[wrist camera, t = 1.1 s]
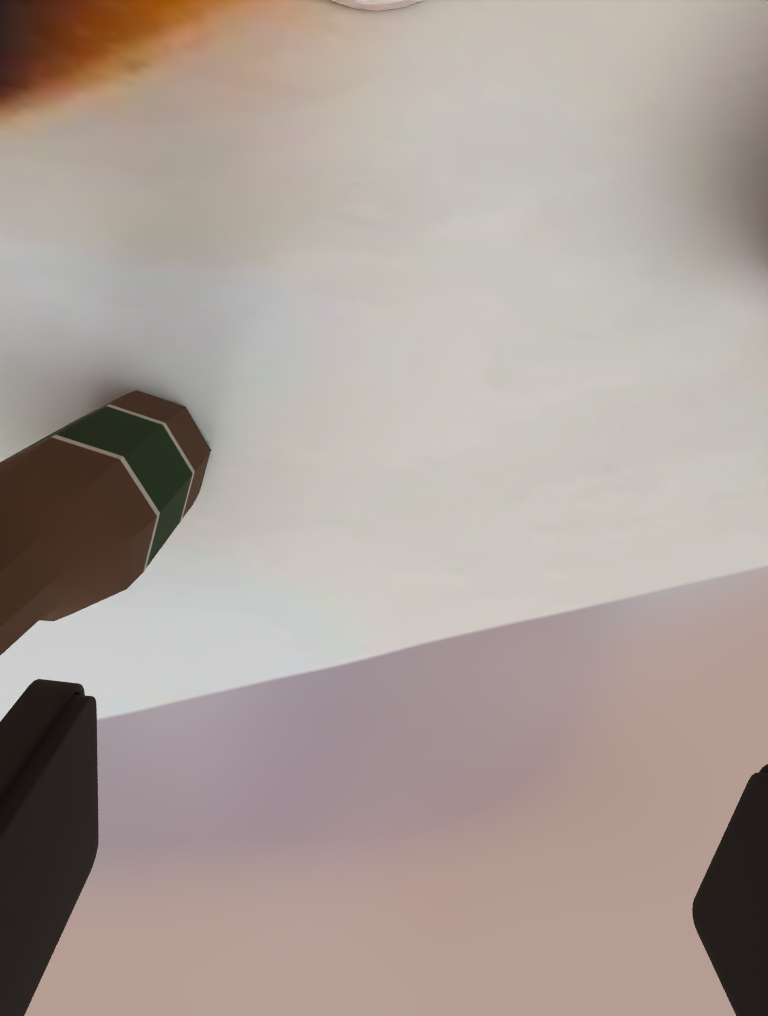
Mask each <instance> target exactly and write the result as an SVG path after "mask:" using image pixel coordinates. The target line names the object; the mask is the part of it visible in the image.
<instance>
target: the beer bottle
mask: <svg viewBox="0 0 768 1016" xmlns="http://www.w3.org/2000/svg"><path fill="white" fill-rule="evenodd" d="M210 451H211V450H210V448H209V446H208V444H207V443H206V441H205V439H204V438H203V436H202V434H201V433H200V431H199V429H198V428H197V426H196V424H195V423H194V421H193V419H192V418H191V416H190V414H189V412H188V411H187V409H186V407H183V406H181V405H178V404H175V403H172V402H169V401H166V400H163V399H160V398H157V397H154V396H151V395H148V394H145V393H142V392H139V391H134V392H132V393H129V394H127V395H124V396H122V397H120V398H118V399H116V400H114V401H112V402H110V403H108V404H107V405H105V406H103V407H101V408H99V409H97V410H95V411H93V412H91V413H89V414H87V415H85V416H83V417H81V418H79V419H77V420H75V421H74V422H72V423H70V424H68V425H66V426H65V427H63V428H61V429H59V430H57V431H56V432H54V433H52V434H50V435H49V436H47V437H45V438H43V439H41V440H40V441H38V442H36V443H34V444H32V445H31V446H29V447H27V448H25V449H23V450H22V451H20V452H18V453H16V454H15V455H13V456H11V457H9V458H7V459H6V460H4V461H2V462H0V655H1V654H2V653H3V652H5V651H6V650H7V649H8V648H9V647H10V646H11V645H12V644H13V643H14V642H16V641H17V640H18V639H19V638H20V637H21V636H22V635H23V634H24V633H25V632H26V631H28V630H29V629H30V628H31V627H32V626H33V625H34V624H35V623H36V622H37V621H39V620H44V621H55V620H58V619H60V618H63V617H65V616H68V615H70V614H73V613H75V612H77V611H79V610H81V609H84V608H86V607H88V606H90V605H92V604H95V603H97V602H99V601H101V600H103V599H106V598H108V597H110V596H112V595H114V594H117V593H119V592H121V591H123V590H126V589H127V588H128V587H129V586H130V585H131V584H132V583H133V582H134V581H135V580H136V579H137V578H138V577H139V576H140V575H141V574H142V573H143V572H144V570H145V569H146V568H147V566H148V565H149V564H150V562H151V561H152V559H153V558H154V557H155V555H156V554H157V553H158V551H159V550H160V548H161V547H162V546H163V544H164V543H165V542H166V540H167V539H168V538H169V536H170V535H171V533H172V532H173V531H174V529H175V528H176V527H177V525H178V524H179V523H180V521H181V520H182V518H183V517H184V516H185V514H186V513H187V512H188V510H189V509H190V508H191V506H192V505H193V503H194V501H195V500H196V498H197V496H198V494H199V492H200V488H201V484H202V481H203V477H204V473H205V470H206V466H207V462H208V458H209V455H210Z"/></svg>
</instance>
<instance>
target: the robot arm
mask: <svg viewBox="0 0 768 1016" xmlns="http://www.w3.org/2000/svg"><path fill="white" fill-rule="evenodd" d="M331 1H334V2H337V3H340V4H343V5H346V6H348V7H351V8H357V9H366V10H375V11H380V10H388V9H396V8H403V7H406V6H409V5H412V4H414V3H417V2H420V1H423V0H331ZM97 781H98V779H97V713H96V700H95V698H94V697H92V696H85V695H84V689H83V686H82V685H81V684H77V683H68V682H60V681H51V680H42V679H38V680H35V681H33V682H32V683H31V684H30V685H29V686H28V688H27V689H26V690H25V692H24V693H23V694H22V695H21V697H20V698H19V699H18V700H17V702H16V703H15V704H14V705H13V707H12V708H11V709H10V710H9V712H8V713H7V714H6V715H5V717H4V718H3V719H2V720H1V722H0V1016H24V1015H25V1013H26V1010H27V1008H28V1006H29V1004H30V1002H31V999H32V997H33V995H34V993H35V991H36V989H37V987H38V984H39V982H40V980H41V978H42V976H43V973H44V971H45V969H46V967H47V965H48V963H49V960H50V958H51V956H52V954H53V952H54V949H55V947H56V945H57V943H58V941H59V939H60V937H61V934H62V932H63V930H64V928H65V926H66V923H67V921H68V919H69V917H70V915H71V913H72V910H73V908H74V906H75V904H76V902H77V900H78V897H79V895H80V893H81V891H82V889H83V887H84V884H85V882H86V880H87V878H88V876H89V874H90V871H91V869H92V866H93V863H94V860H95V857H96V853H97V848H98V783H97ZM692 910H693V920H694V924H695V927H696V929H697V932H698V934H699V937H700V939H701V941H702V943H703V945H704V947H705V949H706V951H707V954H708V956H709V958H710V960H711V962H712V964H713V966H714V969H715V971H716V973H717V975H718V977H719V979H720V982H721V984H722V986H723V988H724V990H725V992H726V994H727V997H728V998H729V1001H730V1003H731V1005H732V1007H733V1009H734V1012H735V1014H736V1016H768V764H767V765H766V766H764V767H762V769H761V770H760V772H759V773H755V774H753V775H752V776H751V778H750V779H749V781H748V783H747V785H746V788H745V790H744V792H743V794H742V796H741V798H740V801H739V803H738V805H737V807H736V809H735V811H734V814H733V816H732V818H731V820H730V822H729V824H728V827H727V829H726V831H725V833H724V836H723V837H722V840H721V842H720V844H719V846H718V848H717V851H716V853H715V855H714V857H713V859H712V861H711V864H710V866H709V868H708V870H707V873H706V875H705V877H704V879H703V881H702V883H701V885H700V888H699V890H698V892H697V894H696V897H695V899H694V902H693V909H692Z"/></svg>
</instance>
